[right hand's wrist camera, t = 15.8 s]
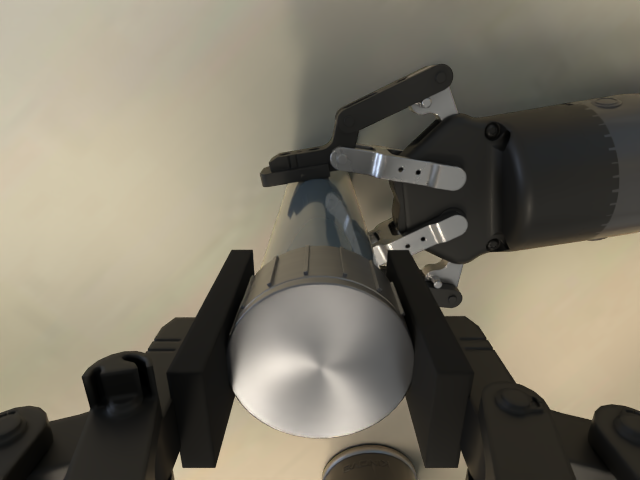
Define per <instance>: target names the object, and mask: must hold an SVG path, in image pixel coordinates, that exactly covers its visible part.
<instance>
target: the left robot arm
mask: <svg viewBox="0 0 640 480" xmlns="http://www.w3.org/2000/svg"><path fill="white" fill-rule="evenodd" d="M452 80H453V72H452V70H451V68H450V67H449V66H447V65H445V64H438V65H431V66H427V67H424V68H422V69H420V70H418V71H416V72H413V73H411V74H409V75H407V76H405V77H403V78H401V79H399V80H397V81H395V82H393V83H391V84H389V85H387V86H385V87H383V88H381V89H379V90H376V91H374V92H372V93H370V94H368V95H366V96H364V97H362V98H360V99H358V100H356V101H354V102H352V103H350V104H348V105H346V106H344V107H342V108H340V109H339V110H338V111H337V113H336V116H335V120H336V121H335V126H334V131H333V136H332V138H331V140H330V141H329V142H328V143H327V144H326V145H324V146H320V147H314V148H308V149H302V150H296V151H290V152H284V153H279V154H278V155H276V156H274V157H273V158H272V159H271V160H270V162H269V167H266V168H264V169H263V170H262V171H261V173H260V176H261V181H262V185H263V187H270V186H276V185H283V184H289V183H295V182H301V181H307V180H312V179H320V178H326V177H331V176H330V172H332V171H338V170H340V171H346V172H353V173H359V174H366V175H371V176H374V177H376V178H380V179H386V180H389V184H390V187H391V189H392V192H393V194H394V200H393V206H392V215H393V218H391V219H388V220H386V221H384V222H382V223H380V224H379V225H377V226H376V227H375V229H374V230H372V231H370V232H368V234H369V237H370V240H371V243H372V246H373V249H374V252H375V255H376V258H377V261H378V264H379V267H380V270H381V271H382V272H383V273H384V275H385V276H386V268H387V266H380V265H382V264H384V263H387V253H388V250H409V251H410V253H411V255H414V254H416V253H418V252H420V251H422V250H426V251H428V252H430V253H432V254H434V255H436V256H438V257H440V258H442V260H441V261H440V262H438V263H436V264H427V265H425V267H424V268H423V269H422V270H420V272H421V274H422V276H423V278H424V279H425V281H426V283H427V285H428V287H429V289H430V291H431V293H432V294H433V296H434V298H435V300H436V302H437V304H438V306H439V307H446V308H454V307H456V306H458V305H459V304H460V303H461V301H462V295H461V293H460V292H459V290H458V289H457V286H458V282H459V278H460V275H461V271H462V267H463V264H466V263H468V262H471V261H472V260H474V259H475V258H477V257H478V256H480V255H482V254H485V253H488V252H510V251H518V250H524V249H531V248H538V247H545V246H552V245H558V244H565V243H572V242H578V241H585V240H588V241H595V240H601V239H605V238H607V237H612V236H619V235H626V234H631V233H637V232H640V94H621V95H614V96H607V97H602V98H596V99H590V100H584V101H578V102H572V103H565V104H559V105H554V106H547V107H542V108H536V109H530V110H524V111H518V112H512V113H506V114H500V115H494V116H488V117H481V118H473V117H470V116H468V115H466V114H460V113H458V111H457V108H456V105H455V101H454V98H453V95H452V92H451V89H450V84H451V83H452ZM407 107H409V109H410V110H411V111H412V112H414V113H417V114H420V115H423V114H427V113H432V114H434V116H435V117H436V120H435V121H434V122H433V123H432V124H431V125H430V126H429V127H428V128H427V129H426V130H425V131H423V132H422V133H421V134H420V135H419V136H418V137H417V138H416V139H415V140H414V141H413V142H412V143H411V144H410V145H409V146H408V147H407V148H406V149H404V150H401V149H395V148H389V147H383V146H376V145H372V146H370V145H363V144H357V143H356V142H357V137H358V133H359V130H361V129H363V128H365V127H367V126H369V125H371V124H373V123H376V122H378V121H380V120H382V119H384V118H386V117H388V116H390V115H392V114H395V113H397V112H399V111H401V110H403V109H405V108H407ZM322 480H417V476H416V472H415V469H414V466H413V465H412V463H411V462H410V460H409V459H408V458H407V457H406V456H404V455H403V454H402V453H400V452H398V451H396V450H394V449H391V448H388V447H384V446H378V445H364V446H358V447H354V448H350V449H348V450H345V451H343V452H341V453H340V454H338V455H337V456H335V457H334V458H333V459H332V460H331V461H330V462H329V463H328V464H327V466H326V467H325V469H324V472H323V475H322Z"/></svg>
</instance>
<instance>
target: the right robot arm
mask: <svg viewBox="0 0 640 480" xmlns="http://www.w3.org/2000/svg"><path fill="white" fill-rule="evenodd" d="M252 275H253V276H254V262H253V250H231V252H230V254H229V256H228V258H227V260H226V262H225V263H224V265H223V267H222V269H221V271H220V273H219V275H218V277H217V278H216V280H215V282H214V284H213V286H212V288H211V290H210V291H209V293H208V295H207V297H206V299H205V301H204V303H203V305H202V306H201V308H200V310H199V312H198V314H197V316H196V318H174V319H173V320H171V321H170V322H169V323H167V324H166V325H165V326H163V327H162V328H161V330H160V331H159V333H158V334H157V336H156V337H155V339H154V341H153V342H152V344H151V345H150V347H149V348H148V351H146V353H142V352H138V351H124V352H120V353H116V354H112V355H109V356H107V357H105V358H103V359H101V360H99V361H97V362H96V363H94V364H93V365H92V366H90V367H89V368H88V369H87V370H86V372H85V373H84V374H83V376H82V380H83V383H84V387H85V391H86V394H87V398H88V402H89V405H90V411H89V412H86V413H83V414H80V415H76V416H71V417H67V418H63V419H59V420H54V421H50V422H49V421H48V418H47V415H46V413H45V412H44V411H43V410H42V409H41V408H39V407H33V406H25V407H18V408H13V409H11V410H8V411H5V412H2V413H0V480H174V474H173V467H174V465H175V462H176V459H177V457H178V454H179V452H180V455H181V461H182V467H183V468H215V467H216V463H217V460H218V456H219V452H220V449H221V445H222V441H223V438H224V434H225V431H226V427H227V423H228V420H229V416H230V412H231V409H232V405H233V401H234V398H235V394H234V393H233V390H232V388H231V386H230V384H229V378H228V369H227V360H226V347H227V342H228V339H229V334H230V331H231V329H232V326H233V323H234V320H235V318H236V315H237V312H238V309H239V307H240V304H241V301H242V300H243V297H244V295H245V292H246V289H247V286H248V284H249V281H250V278H251V276H252ZM386 277H387V278H388V280H389V281H390V283H391V282H393V283H394V286H395V288H396V291H397V294H398V296H399V299H400V302H401V304H402V307H403V310H404V313H405V316H404V318H405V321H406V324H407V327H408V330H409V333H410V335H411V338H412V341H413V345H414V349H415V353H414V364H413V373H412V382H411V384H410V387H409V389H408V391H407V393H406V395H405V396H406V400H407V403H408V407H409V411H410V414H411V418H412V422H413V425H414V429H415V433H416V436H417V440H418V444H419V447H420V451H421V455H422V458H423V462H424V466H425V468H458V463H459V458H460V452H461V451H462V454H463V456H464V459H465V462H466V464H467V467H468V469H467V474H466V480H640V411H638V410H635V409H632V408H629V407H626V406H620V405H613V404H611V405H605V406H601V407H599V408H598V409H597V410H596V411H595V413H594V416H593V419H592V420H589V419H584V418H580V417H576V416H572V415H567V414H563V413H560V412H556V411H553V410H550V408H549V407H548V405H547V404H546V402H545V401H544V399H543V398H541V397H540V396H539V395H538V394H537V393H535V392H534V391H532V390H531V389H529V388H527V387H525V386H523V385H520V384H516V382H515V381H514V379H513V378H512V376H511V375H510V373H509V372H508V370H507V369H506V367H505V366H504V364H503V363H502V361H501V359H500V358H499V356H498V355H497V353H496V352H495V350H493V347H492V346H491V344H490V343H489V341H488V340H486V337H485V335H484V334H483V332H482V331H481V329H480V327H479V326H478V325H476V324H475V323H474V322H472V321H471V320H469V319H468V318H467V317H465V316H444V315H443V313H442V311H441V309H440V308H439V306H438V304H437V302H436V300H435V298H434V296H433V294H432V293H431V291H430V289H429V287H428V285H427V283H426V281H425V279H424V278H423V276H422V274H421V272H420V270H419V268H418V266H417V265H416V263H415V261H414V259H413V257H412V255H411V253H410V251H409V250H388V253H387V268H386Z"/></svg>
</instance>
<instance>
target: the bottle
mask: <svg viewBox="0 0 640 480" xmlns="http://www.w3.org/2000/svg"><path fill="white" fill-rule="evenodd" d="M330 176H331V177H326V178H320V179H312V180H307V181H301V182H295V183H289V184H288V185H287V188H286V191H285V194H284V197H283V200H282V203H281V206H280V209H279V212H278V216H277V219H276V222H275V225H274V228H273V231H272V234H271V237H270V240H269V243H268V246H267V249H266V253H265V256H264V259H263V262H262V265H261V268H262V267H263V266H264V265H266V264H267V263H268V262H270V261H271V260H272V259H274V256H276V255H277V256H279V255H281V254H283V253H286V252H288V251H291V250H294V249H298V248H302V247H306V245H309V246H332V247H338V248H340V247H344V249H347V250H349V251H352V252H355V253H357V254H359V255H361V256H363V257H365V258H366V259H368V260H369V261H370V260H372V261H374V264H375V265H376V266H377V267H378V268H379V269H380V267H379V264H378V261H377V258H376V255H375V252H374V249H373V246H372V243H371V240H370V237H369V234H368V231H367V227H366V224H365V221H364V218H363V215H362V212H361V209H360V206H359V203H358V200H357V197H356V194H355V191H354V188H353V185H352V182H351V179H350V176H349V173H348V172H346V171H340V170H338V171H332V172H330ZM261 268H260V269H261Z"/></svg>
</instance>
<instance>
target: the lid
mask: <svg viewBox="0 0 640 480" xmlns="http://www.w3.org/2000/svg"><path fill="white" fill-rule="evenodd" d="M404 316H405V313H404V310H403V307H402V304H401V302H400V299H399V296H398V294H397V291H396V288H395V286H394V283H393V282H391V283H390V281H389V280H388V278H387V277H386V276H385V275H384V273H383V272H382V271H381V270H380V269H379V268H378V267H377V266H376V265H375V264H374V261H372V260H370V261H369V260H368V259H366V258H365V257H363V256H361V255H359V254H357V253H355V252H352V251H349V250H347V249H344V247H340V248H338V247H332V246H309V245H306V247H302V248H298V249H294V250H291V251H288V252H286V253H283V254H281V255H279V256H277V255H276V256H274V259H272V260H271V261H270V262H268V263H267V264H266V265H264V266H263V267H262V268H261V269H260V270H259V271H258V272H257V274H256V275H255V276H253V275H252V276H251V278H250V281H249V284H248V286H247V289H246V292H245V295H244V297H243V300H242V301H241V304H240V307H239V309H238V312H237V315H236V318H235V320H234V323H233V326H232V329H231V331H230V334H229V339H228V342H227V347H226V360H227V369H228V378H229V384H230V386H231V388H232V390H233V393H234V394H235V396H236V397H237V399H238V400H239V402H240V403H241V404H242V405H243V406H244V408H245V409H246V410H247V411H248V412H250V413H251V414H252V415H253V416H254V417H256V418H257V419H258V420H260V421H261V422H263V423H264V424H266V425H268V426H270V427H272V428H274V429H276V430H279V431H281V432H284V433H287V434H291V435H295V436H300V437H307V438H333V437H341V436H345V435H350V434H353V433H356V432H359V431H362V430H364V429H366V428H369V427H371V426H372V425H374V424H376V423H378V422H379V421H381V420H382V419H383V418H385V417H386V416H387V415H389V414H390V413H391V412H392V411H393V410H394V409H395V408H396V407H397V406H398V404H399V403H400V402H401V401H402V400H403V398H404V396H405V395H406V393H407V391H408V389H409V387H410V384H411V382H412V373H413V364H414V353H415V349H414V345H413V341H412V338H411V335H410V333H409V330H408V327H407V324H406V321H405V318H404Z"/></svg>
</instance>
